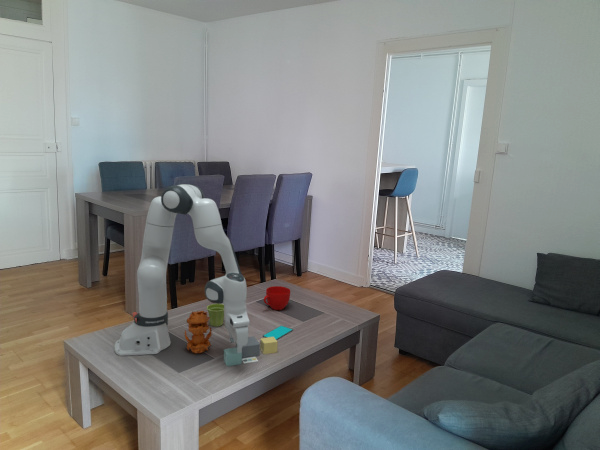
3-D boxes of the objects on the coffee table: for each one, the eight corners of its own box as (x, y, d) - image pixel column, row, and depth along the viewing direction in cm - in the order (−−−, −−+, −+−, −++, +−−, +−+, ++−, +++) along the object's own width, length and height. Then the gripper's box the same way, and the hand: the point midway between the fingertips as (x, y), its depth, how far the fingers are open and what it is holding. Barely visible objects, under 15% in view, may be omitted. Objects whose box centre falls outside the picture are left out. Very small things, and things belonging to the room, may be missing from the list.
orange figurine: (187, 358, 178) (187, 316, 174) (182, 346, 187) (182, 306, 184) (214, 354, 182) (215, 313, 179) (208, 342, 192) (209, 303, 189)
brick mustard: (263, 354, 184) (264, 343, 183) (259, 349, 189) (260, 338, 188) (277, 352, 187) (277, 341, 186) (273, 347, 191) (273, 336, 190)
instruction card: (243, 363, 176) (243, 363, 176) (241, 358, 180) (241, 358, 179) (258, 361, 178) (258, 360, 178) (255, 356, 182) (255, 356, 182)
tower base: (240, 358, 180) (241, 347, 179) (235, 349, 187) (236, 338, 186) (259, 355, 183) (259, 344, 182) (253, 347, 190) (254, 336, 189)
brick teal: (226, 366, 173) (227, 354, 172) (223, 360, 178) (223, 349, 177) (241, 364, 176) (241, 352, 175) (238, 358, 180) (238, 347, 179)
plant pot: (208, 329, 205) (209, 311, 204) (204, 321, 214) (204, 304, 212) (228, 326, 209) (228, 309, 208) (223, 319, 218) (223, 302, 216)
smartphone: (293, 329, 210) (275, 340, 197) (293, 331, 210) (275, 341, 197) (281, 325, 213) (262, 335, 201) (280, 326, 214) (262, 337, 201)
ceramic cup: (255, 309, 233) (255, 291, 231) (277, 301, 245) (277, 284, 244) (272, 316, 224) (273, 297, 223) (294, 308, 237) (295, 290, 235)
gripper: (220, 306, 181) (221, 337, 184) (234, 325, 163) (235, 359, 166) (235, 304, 184) (235, 334, 187) (251, 322, 166) (251, 356, 168)
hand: (235, 346), depth 176 cm, fingers open, 8 cm apart
